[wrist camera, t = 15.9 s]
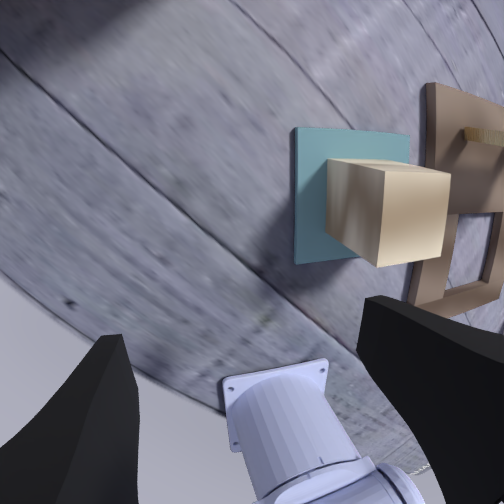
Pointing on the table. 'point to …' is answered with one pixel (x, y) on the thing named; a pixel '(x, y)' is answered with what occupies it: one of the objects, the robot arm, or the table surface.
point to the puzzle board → (462, 197)
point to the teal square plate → (315, 182)
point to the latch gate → (484, 136)
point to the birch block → (387, 209)
